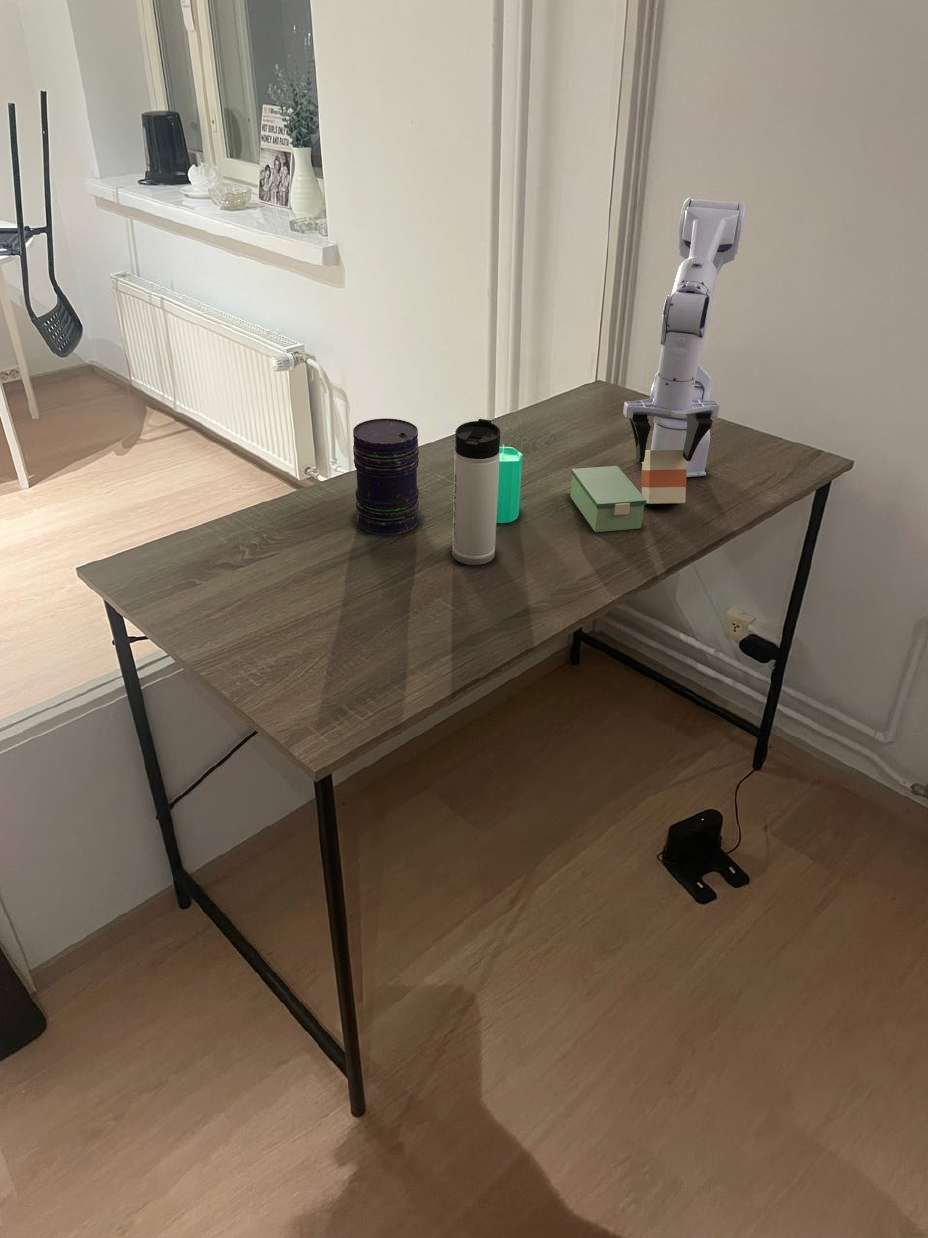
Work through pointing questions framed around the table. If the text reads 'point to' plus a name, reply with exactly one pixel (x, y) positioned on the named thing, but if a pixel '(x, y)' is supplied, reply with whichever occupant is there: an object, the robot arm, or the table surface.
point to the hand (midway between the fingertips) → (663, 459)
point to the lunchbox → (607, 498)
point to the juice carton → (664, 476)
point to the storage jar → (386, 475)
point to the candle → (509, 484)
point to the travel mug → (475, 491)
